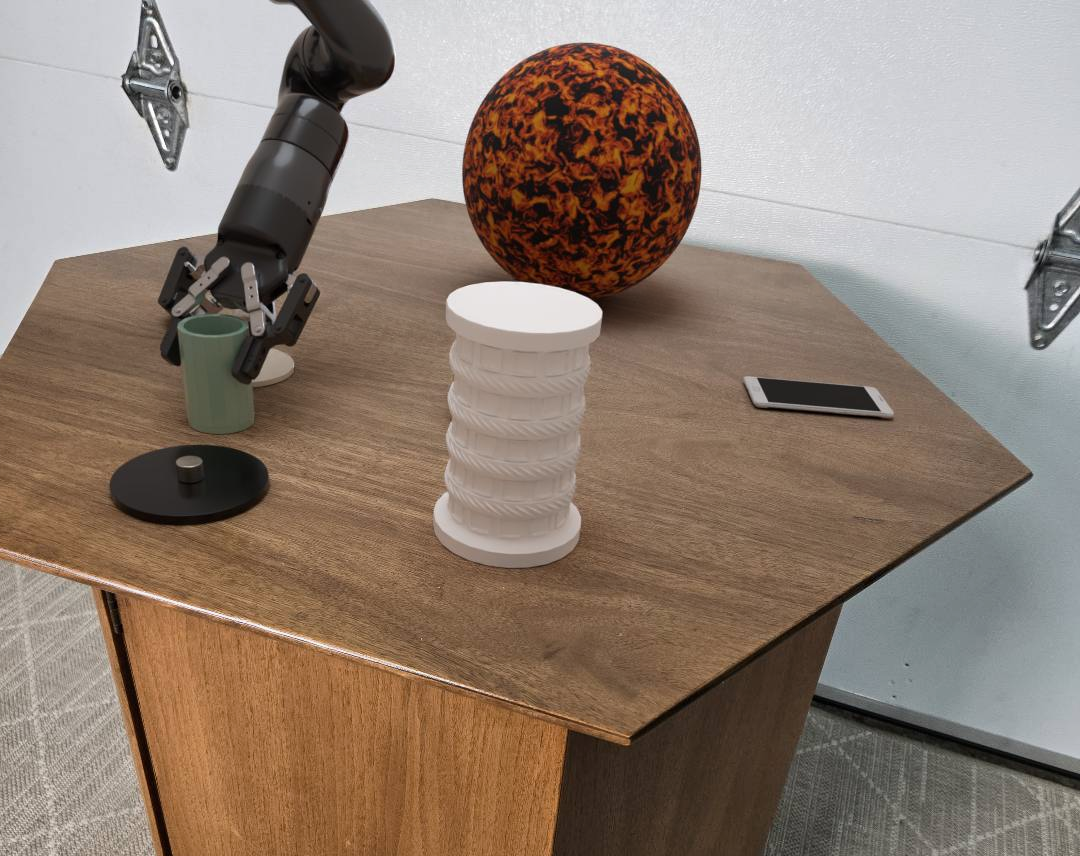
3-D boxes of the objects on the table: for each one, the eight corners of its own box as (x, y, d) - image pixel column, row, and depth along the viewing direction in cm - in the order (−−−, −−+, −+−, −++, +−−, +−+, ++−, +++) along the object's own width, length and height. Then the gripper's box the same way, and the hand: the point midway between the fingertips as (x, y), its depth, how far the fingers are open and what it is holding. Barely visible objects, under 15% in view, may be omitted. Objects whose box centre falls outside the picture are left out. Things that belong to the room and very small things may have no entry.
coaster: (170, 368, 98) (169, 363, 98) (245, 343, 105) (244, 338, 105) (242, 396, 94) (241, 390, 93) (315, 368, 101) (314, 362, 101)
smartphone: (742, 375, 108) (875, 386, 109) (741, 380, 109) (874, 391, 109) (754, 402, 102) (896, 414, 102) (753, 408, 102) (894, 420, 103)
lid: (77, 490, 76) (72, 464, 75) (198, 439, 85) (195, 415, 84) (184, 542, 71) (181, 515, 70) (300, 483, 80) (299, 458, 79)
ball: (528, 344, 113) (552, 55, 97) (419, 269, 134) (425, 22, 118) (726, 320, 127) (775, 64, 111) (600, 256, 148) (626, 33, 132)
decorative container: (429, 564, 72) (437, 328, 62) (435, 488, 82) (443, 274, 72) (586, 571, 73) (617, 340, 63) (573, 495, 83) (599, 285, 73)
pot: (173, 421, 88) (162, 324, 83) (223, 401, 92) (215, 309, 88) (220, 440, 86) (211, 342, 81) (268, 419, 90) (262, 325, 85)
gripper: (188, 168, 87) (111, 333, 83) (329, 195, 83) (253, 370, 79) (230, 218, 94) (160, 372, 90) (361, 245, 90) (294, 407, 87)
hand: (204, 370), depth 85 cm, fingers open, 7 cm apart
